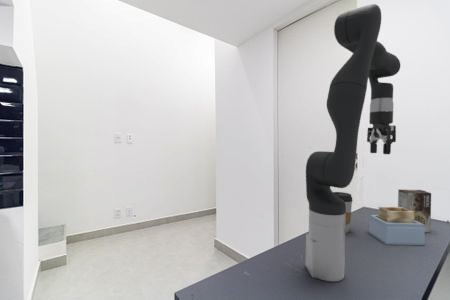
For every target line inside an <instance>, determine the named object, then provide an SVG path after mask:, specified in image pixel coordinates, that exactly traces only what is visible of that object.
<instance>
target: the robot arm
mask: <svg viewBox="0 0 450 300" xmlns="http://www.w3.org/2000/svg"><path fill="white" fill-rule="evenodd" d="M381 25H382V11H381V8H380V6H379V5H378V4H376V3H373V4H367V5H363V6H359V7H357V8H354V9H351V10H347V11H345V12H343V13H341V14H339V15H338V16H337V17H336V19H335V21H334V27H333V34H334V37H335V40H336V42H337V43H338V44H339V45H340V46H341V47H343V48H344V49H346V50H348V51H349V52H351V53H352V54H351V55H350V57H349V58H348V59H347V60H346V62H344V64H343V65H342V67H340V69H339V70H338V71H337V72H336V73H335V75H334V77H333V78H332V79H331V81H330V84H329V89H328V93H327V99H326V109H327V113H328V114H329V117H330V119H331V120H330V121H332V123H333V126H334V129H335V134H336V135H335V136H336V138H335V146H334V150H333V151H320V150H319V151H314V152H313V153H310V155H309V157H308V158H307V160H306V165H305V185H306V186H305V187H306V188H305V191H306V199H307V202H308V233H307V232H306V234H305V267H306V270H307V271H308V273H309V275H310V276H311V277H312V278H313V279H314V278H315V279H319V280H322V281H326V282H340V281H342V280H343V279H344V277H345V267H346V266H345V256H346V255H345V254H346V253H345V251H346V249H345V248H346V233H345V222H346V204H345V202H344V201H343V200H342V199H340V198H339V197H338V196H336V195H335V194H334V193H333V190H332V189H331V187H332V188H338V189H345V188H347V187H348V186H349V185H350V184H351V182H352V180H353V178H354V175H355V170H356V159H357V149H358V148H357V147H358V138H359V136H358V135H359V132H360V131H359V129H360V123H361V119H362V118H361V117H362V114H363V113H362V112H363V109H364V103H365V99H366V95H367V88H368V81H369V85H370V103H369V104H370V105H369V124H370V125H372V127H368V128H367V135H366V136H367V137H366V142H367V143H369V144H370V145H369V146H370V148H369V151H370V154H377V153H378V142H379V141H380V140H381V141H382V143H383V144H382V147H383V148H382V149H383V150H382V154H383V155H390V154H391V153H392V152H391V149H392V148H391V147H392V144H393V143H396V141H397V139H396V138H397V131H396V130H397V128H396V125H391V124H393V122H394V85H393V83H391V82H380V81H379V79H382V78H388V77H393V76H395V75H397V74H398V73H399V72H400V69H401V61H400V59H399V58H398V57H397V56H396V55H394V54H393V53H392V52H391V53H390V52H388V50H387V49H386V47H385V46H384V44H382V43H381V42H379V41H378V38H379V34H380V30H381Z"/></svg>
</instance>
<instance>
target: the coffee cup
mask: <svg viewBox="0 0 450 300" xmlns="http://www.w3.org/2000/svg"><path fill="white" fill-rule="evenodd" d="M332 192H333V191H332ZM333 193H334V194H335V195H336V196H338V197H339V198H340V199H342V200H343V201H344V202H345V204H346V222H345V234H348V233H349V231H350V227H351V225H350V224H351V219H352V218H351V217H352V205H353V197H352V193H348V192H344V191H343V192H342V191H334V192H333Z"/></svg>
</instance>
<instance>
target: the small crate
mask: <svg viewBox="0 0 450 300" xmlns="http://www.w3.org/2000/svg"><path fill="white" fill-rule="evenodd" d="M377 211H378V214H377V215H378V218H379V219H381V220H383V221H385V222H387V223H414V212H413V211H411V210H408V209H406V208H403V207H398V206H378V210H377Z"/></svg>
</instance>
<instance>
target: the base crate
mask: <svg viewBox="0 0 450 300" xmlns="http://www.w3.org/2000/svg"><path fill="white" fill-rule="evenodd" d="M368 233H369V234H370V235H372V236H373V237H374V238H376V239H377V240H379V241H381V242H382V243H384V244H385V245H391V246H393V245H397V246H399V245H402V246H403V245H404V246H426V243H425V241H426V239H425V237H426V232H425V228H424V224H422V223H420V222H417V221H415V220H414V223H387V222H385V221H383V220H381V219H379V218H378V214H370V215H369V218H368Z"/></svg>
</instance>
